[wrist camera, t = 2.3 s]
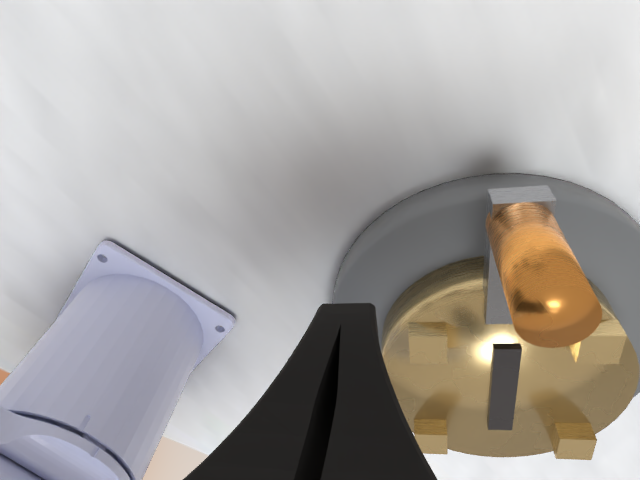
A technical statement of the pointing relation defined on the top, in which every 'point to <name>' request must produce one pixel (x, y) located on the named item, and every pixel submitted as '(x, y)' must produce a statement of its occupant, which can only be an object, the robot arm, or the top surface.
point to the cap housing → (469, 241)
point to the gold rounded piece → (510, 343)
